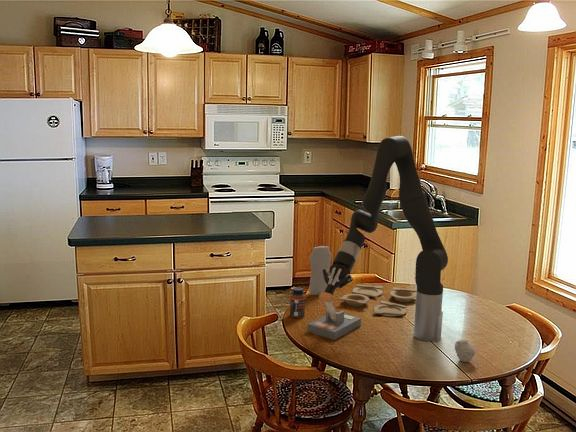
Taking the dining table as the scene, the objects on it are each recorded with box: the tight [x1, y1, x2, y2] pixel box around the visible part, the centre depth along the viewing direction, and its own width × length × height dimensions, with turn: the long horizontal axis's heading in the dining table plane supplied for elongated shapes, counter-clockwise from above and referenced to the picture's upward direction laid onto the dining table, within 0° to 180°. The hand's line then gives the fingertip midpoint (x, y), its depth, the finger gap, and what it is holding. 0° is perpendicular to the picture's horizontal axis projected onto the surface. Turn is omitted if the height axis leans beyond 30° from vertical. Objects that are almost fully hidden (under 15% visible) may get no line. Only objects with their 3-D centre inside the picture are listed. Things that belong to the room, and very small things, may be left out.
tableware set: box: [338, 284, 417, 317], centre depth 240 cm, size 35×29×4 cm
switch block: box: [306, 309, 362, 341], centre depth 208 cm, size 12×18×7 cm, turn 142°
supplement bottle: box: [289, 286, 306, 319], centre depth 220 cm, size 6×6×11 cm
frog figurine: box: [454, 339, 476, 363], centre depth 183 cm, size 6×7×7 cm
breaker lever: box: [318, 292, 337, 321], centre depth 204 cm, size 4×2×14 cm
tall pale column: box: [309, 245, 332, 296], centre depth 246 cm, size 11×4×22 cm, turn 112°
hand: (327, 295), depth 202 cm, fingers closed
